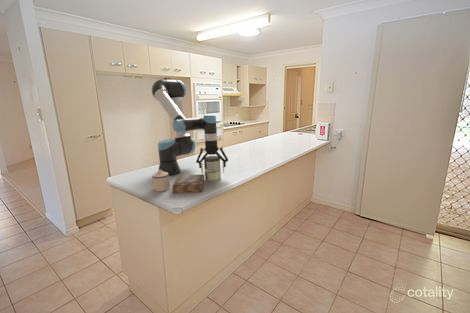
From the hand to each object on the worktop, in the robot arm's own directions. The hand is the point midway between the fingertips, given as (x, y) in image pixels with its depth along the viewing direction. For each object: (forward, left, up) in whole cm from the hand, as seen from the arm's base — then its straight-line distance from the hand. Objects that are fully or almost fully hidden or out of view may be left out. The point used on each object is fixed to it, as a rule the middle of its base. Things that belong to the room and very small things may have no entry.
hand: (212, 172), depth 147 cm
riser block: (-13, -13, -4) cm, 19 cm away
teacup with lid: (-30, -13, -5) cm, 33 cm away
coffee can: (0, 0, -5) cm, 5 cm away
